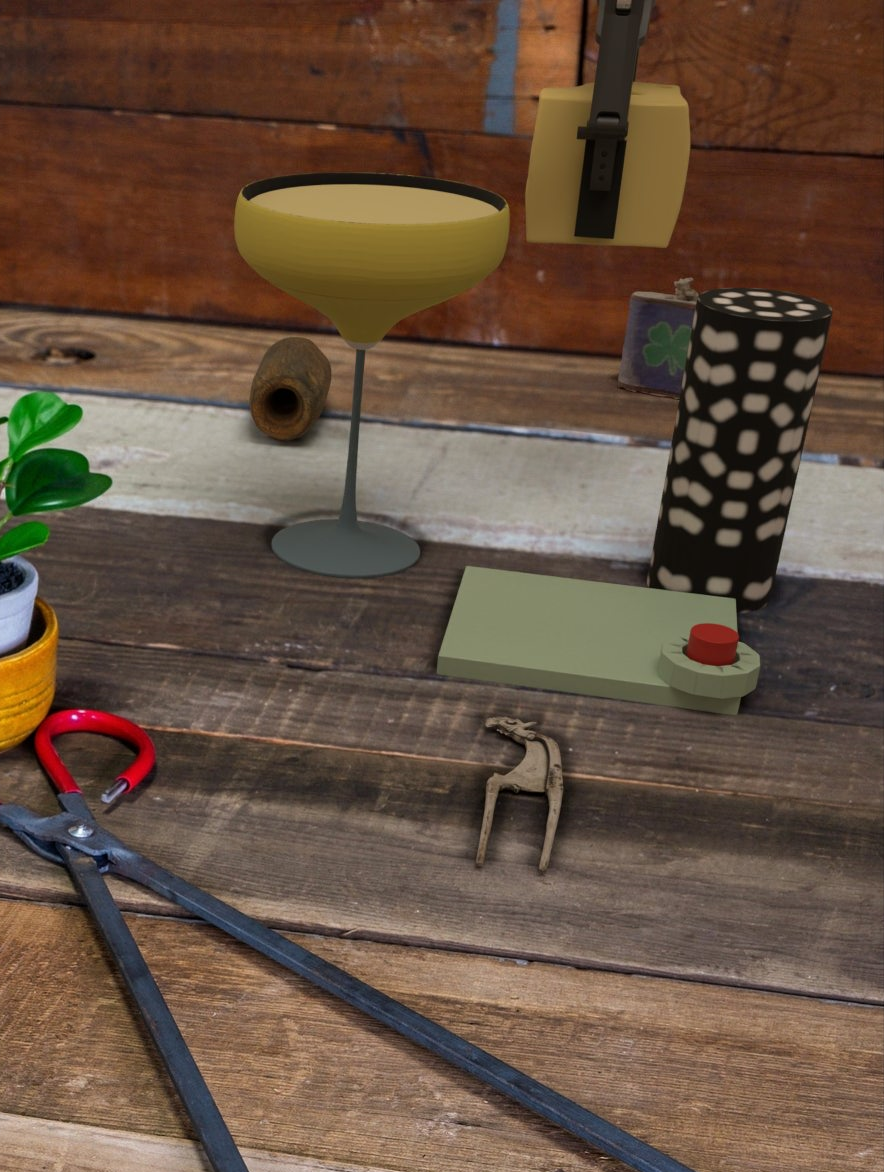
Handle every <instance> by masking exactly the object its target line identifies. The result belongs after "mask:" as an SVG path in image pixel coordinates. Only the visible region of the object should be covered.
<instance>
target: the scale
mask: <svg viewBox="0 0 884 1172" xmlns="http://www.w3.org/2000/svg"><path fill="white" fill-rule="evenodd" d="M737 615H738V614H737V613H736V599H733V598H725V597H717V596H709V595H701V594H693V593H684V592H676V591H668V590H660V589H652V588H648V587H644V586H643V587H642V586H635V585H628V584H627V585H626V584H618V583H611V582H602V581H593V580H587V579H578V578H569V577H563V576H562V577H561V576H552V575H545V574H536V573H529V572H520V571H513V570H512V571H511V570H504V569H496V568H489V567H481V566H471V565H466V566H465V568H464V572H463V575H462V578H461V582H460V583H459V588H458V591H457V594H456V597H455V600H454V604H453V607H452V610H451V613H450V616H449V620H448V623H447V625H446V630H445V633H444V636H443V639H442V642H441V645H440V649H439V652H438V655H437V663H436V672H435V673H436V675H438V676H445V677H446V676H447V677H454V678H460V679H461V678H462V679H469V680H476V681H483V682H490V683H497V684H505V685H512V686H519V687H526V688H533V689H541V690H549V691H555V692H562V693H571V694H575V695H584V696H592V697H599V698H606V699H607V698H608V699H612V700H613V699H614V700H620V701H626V702H627V701H628V702H635V703H644V704H650V705H657V706H663V707H672V708H678V709H686V710H693V711H694V710H695V711H700V712H707V713H713V714H722V715H729V716H738V714H739V709H740V704H741V700H742V697H744V696H746V695H748V694H750V693H751V692H753V691H754V690H756V688H757V684H758V679H759V675H760V670H761V655H760V654H759V653H758V652H756V650H754V649H752V647H750V646H748V645H747V644H746V643H744V642H741V641H739V640H738V645H737V650H736V655H735V660H734V663H733V665H726V666H711V665H704V664H701V663H698V662H695V661H693V660H690V659H689V658H688V657H687V656H686V652H687V647H688V641H689V636H690V631H691V628H692V627H693V626H695V625H697V624H703V623H712V624H719V625H723V626H727V627H729V628H731V629H733V630H735V631H736V632H737V633H738V634H739V632H738V616H737Z"/></svg>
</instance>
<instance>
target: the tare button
mask: <svg viewBox="0 0 884 1172" xmlns="http://www.w3.org/2000/svg"><path fill="white" fill-rule="evenodd" d="M739 639H740V635H739V632H738V633H737V632H736V631H735V630H733V629H731V628H729V627H727V626H723V625H719V624H712V623H703V624H697V625H695V626H693V627H692V628H691V631H690V636H689V641H688V647H687V652H686V656H687V657H688V658H689V659H690V660H693V661H695V662H698V663H701V664H704V665H711V666H726V665H733V663H734V660H735V655H736V650H737V645H738V641H739Z"/></svg>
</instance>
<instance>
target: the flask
mask: <svg viewBox="0 0 884 1172" xmlns="http://www.w3.org/2000/svg"><path fill="white" fill-rule="evenodd" d="M693 281H694V278H693V277H685V278H684V279H683V278H680V279H679V280H678V281H676V280H674V282H673V286H674V287H676V288H675V292H674V294H667V293H661V292H656V291H655V292H654V291H635V292H633V293H632V294H631V295H630V299H629V306H628V308H629V309H628V317H627V323H626V328H625V329H626V330H625V336H624V342H623V345H622V352H621V353H622V355H621V361H620V366H619V373H618V377H617V385H618V388H622V389H624V390H626V391H630V392H633V393H636V392H639V393H644V394H649V395H651V396H656V397H657V396H659V397H671V398H673V399H678V400H679V398H680V392H681V387H682V381H683V376H684V370H685V364H686V359H687V353H688V348H689V342H690V336H691V331H692V325H693V319H694V314H695V308H696V303H697V297H698V295H699V293H698V292H697V291H696V290H695V289H693V288H691V282H693Z"/></svg>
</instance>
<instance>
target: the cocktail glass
mask: <svg viewBox="0 0 884 1172" xmlns="http://www.w3.org/2000/svg"><path fill="white" fill-rule="evenodd" d="M510 214H511V213H510V207H509V204H508V202H507V200H506V199H505V198H504V197H502V196H501V195H500V194H498V193H495V192H493V191H491V190H489V189H486V188H483V187H479V186H476V185H472V184H469V183H468V184H467V183H464V182H459V181H454V180H447V179H442V178H435V177H428V176H419V175H411V174H400V173H399V174H398V173H386V172H385V173H383V172H360V171H359V172H357V171H355V172H353V171H349V172H348V171H345V172H344V171H341V172H339V171H338V172H337V171H335V172H333V171H332V172H311V173H310V172H309V173H296V174H288V175H280V176H274V177H268V178H263V179H260V180H256V181H253V182H251V183H248V184H246V185H245V186H244V187H243V188H241V190H240V192H239V194H238V196H237V200H236V203H235V209H234V218H233V219H234V223H233V224H234V225H233V230H234V239H235V243H236V247H237V250H238V252H239V254H240V256H241V257H242V259H243V260H244V261H245V262H246V263H247V264H248V265H249V267H250V268H251V269H252V270H254V271H255V272H256V273H257V274H258V275H259V276H260V277H261V278H262V279H263V280H265V281H267V283H269V284H271V285H273V286H274V287H276V288H278V289H279V290H281V291H283V292H284V293H286V294H288V295H289V296H291V297H292V298H295V299H297V300H299V301H300V302H302V303H304V304H306V305H308V306H310V307H311V308H313V309H315V311H316V310H317V311H318V312H319V313H321V314H323V315H324V316H325V317H327V318H328V319H329V320H330V321H331V322H332V324H333V325H334V327H335V328H336V329H337V331H338V333H339V334H340V336H341V338H342V339H343V340H344V343H346V344H347V345H348V346H349V347H350V348H352V349H354V350H355V363H354V377H353V391H352V405H351V415H350V416H351V417H350V428H349V439H348V449H347V450H348V451H347V462H346V471H345V480H344V481H345V482H344V490H343V496H342V501H341V507H340V511H339V514H338V518H325V519H315V520H314V519H313V520H308V521H301V522H298V523H295V524H294V523H293V524H291V525H288V526H286V527H284V528H283V529H280V530H279V531H278V532H276V533H275V534H274V536H273V537H272V538H271V544H270V545H271V550H272V552H273V554H274V555H275V556H276V557H277V559H279V560H280V561H282V562H283V563H285V564H286V565H289V566H290V567H293V568H295V569H298V570H301V571H303V572H307V573H310V574H314V575H319V576H325V577H330V578H331V577H332V578H340V579H341V578H342V579H369V578H379V577H380V578H381V577H386V576H387V577H388V576H391V575H395V574H399V573H401V572H404V571H406V570H408V569H410V568H412V567H413V566H414V565H415V564H417V562H418V561H419V560H420V557H421V548H420V545H419V544H418V542H417V541H416V540H415V539H414V538H413V537H411V536H409V534H406V533H405V532H402V531H401V530H398V529H396V528H393V527H391V526H388V525H383V524H380V523H376V522H371V521H366V520H365V521H364V520H359V519H358V515H357V513H358V512H357V499H356V498H357V475H358V474H357V473H358V471H357V470H358V458H359V457H358V455H359V442H360V441H359V440H360V425H361V413H362V412H361V411H362V398H363V386H364V374H365V373H364V372H365V363H366V362H365V361H366V350H367V351H368V350H371V349H373V348H374V347H376V346H377V345H378V344H379V343H380V342H381V341H382V340H383V339H384V337H385V336H387V334H388V333H389V331H391V329H392V328H393V327H394V326H395V325H396V324H397V323H399V322H400V321H402V320H404V319H406V318H407V317H410V316H412V315H415V314H416V313H418V312H421V311H424V310H427V309H428V308H429V309H430V308H431V307H434V306H437V305H439V304H441V303H444V302H446V301H448V300H451V299H453V298H455V297H457V296H459V295H461V294H463V293H465V292H467V291H469V290H471V289H472V288H474V287H476V286H477V285H479V284H480V283H481V282H483V281H484V280H485V279H486V278H488V277H489V276H490V275H491V274H492V273H493V272H494V271H496V269H497V268H498V267H499V266H500V264H501V263H502V261H503V259H504V257H505V254H506V251H507V246H508V241H509V233H510V224H511V223H510V222H511V220H510V219H511V215H510Z"/></svg>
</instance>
